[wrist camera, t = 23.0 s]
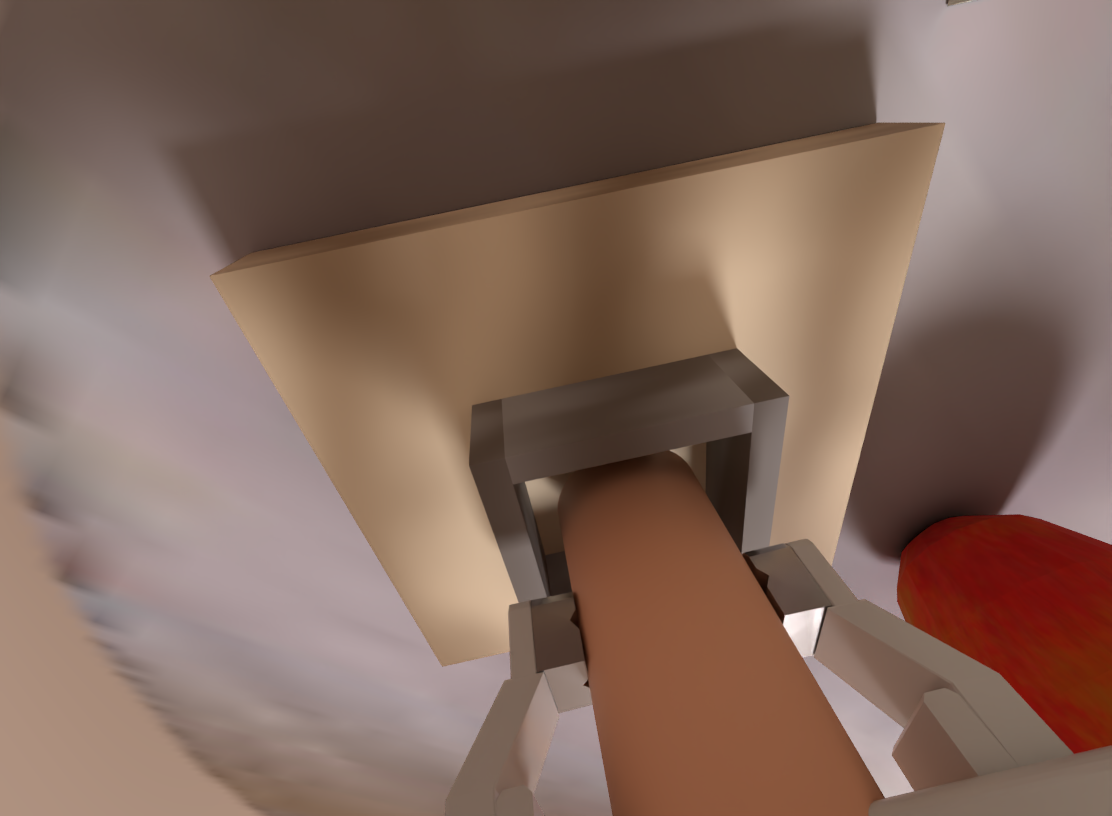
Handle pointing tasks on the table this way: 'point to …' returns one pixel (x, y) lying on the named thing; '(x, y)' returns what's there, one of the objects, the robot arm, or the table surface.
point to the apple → (1021, 612)
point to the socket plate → (593, 357)
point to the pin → (694, 659)
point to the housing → (957, 2)
